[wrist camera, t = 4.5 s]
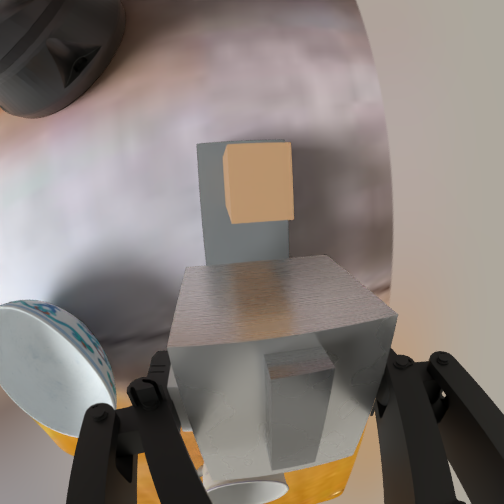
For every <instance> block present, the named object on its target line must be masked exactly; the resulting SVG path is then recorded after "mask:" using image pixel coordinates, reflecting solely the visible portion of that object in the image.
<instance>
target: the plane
mask: <svg viewBox="0 0 504 504" xmlns="http://www.w3.org/2000/svg"><path fill="white" fill-rule="evenodd" d="M197 160H198V176H199V190H200V203H201V215H202V227H203V237H204V248H205V257H206V266H207V265H219V264H230V263H241V262H252V261H263V260H274V259H285V258H289V234H288V220H294V203H293V176H292V155H291V142H285V140H246V141H227V142H212V143H201V144H197Z"/></svg>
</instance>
